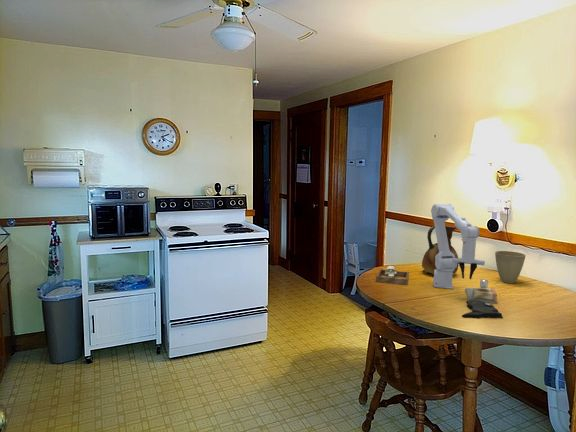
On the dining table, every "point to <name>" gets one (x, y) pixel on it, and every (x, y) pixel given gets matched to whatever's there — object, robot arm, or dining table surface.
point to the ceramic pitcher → (437, 250)
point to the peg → (483, 283)
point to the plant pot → (509, 265)
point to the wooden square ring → (482, 293)
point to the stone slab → (481, 310)
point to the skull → (390, 272)
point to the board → (470, 297)
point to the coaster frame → (393, 280)
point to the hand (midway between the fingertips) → (466, 278)
